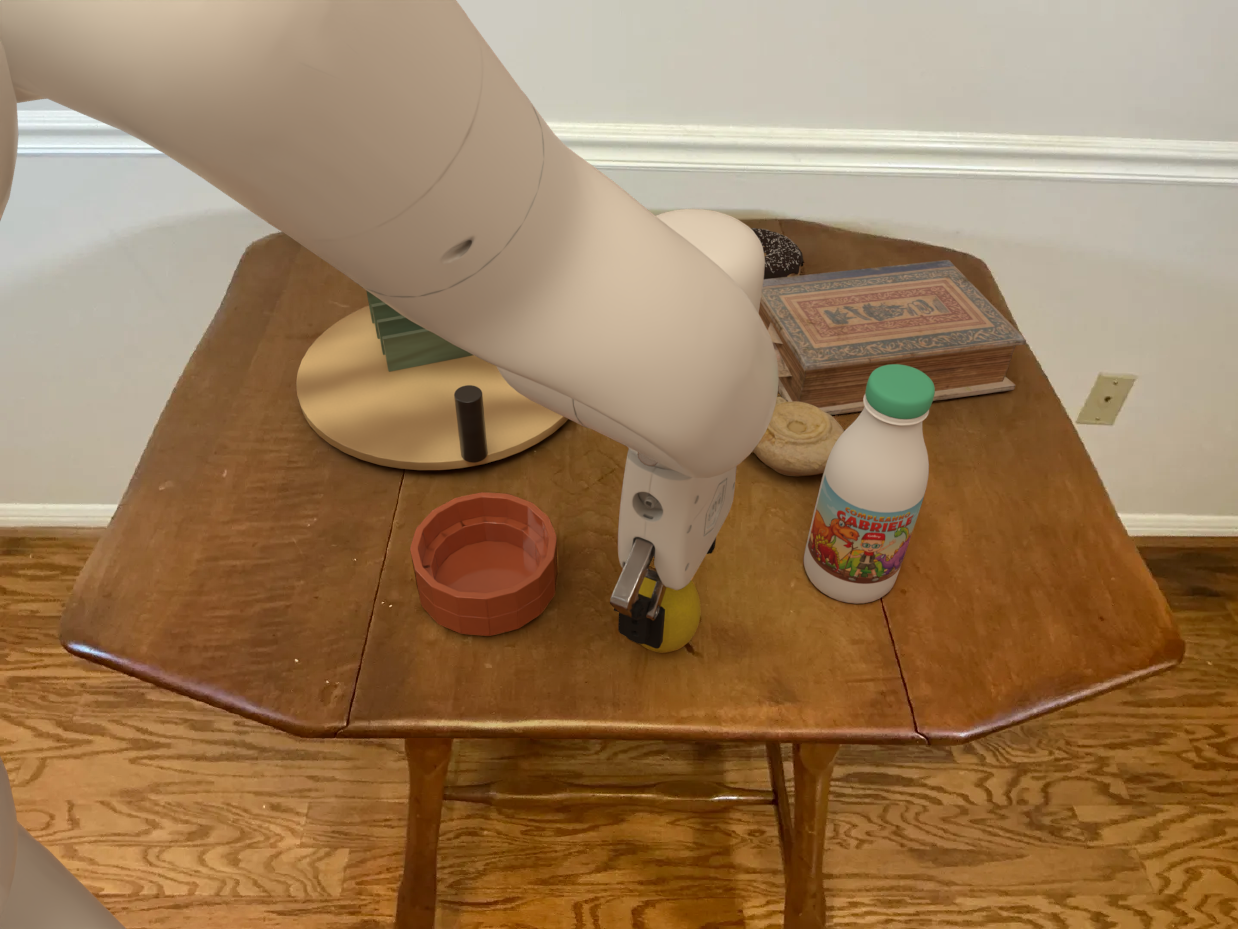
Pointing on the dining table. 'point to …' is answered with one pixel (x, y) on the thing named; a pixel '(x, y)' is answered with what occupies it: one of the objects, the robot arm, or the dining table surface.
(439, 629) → the dining table surface
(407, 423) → the dish rack
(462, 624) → the bowl
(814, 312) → the book
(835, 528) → the milk bottle
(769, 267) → the donut
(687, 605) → the lemon
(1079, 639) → the dining table surface
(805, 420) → the oil lamp
